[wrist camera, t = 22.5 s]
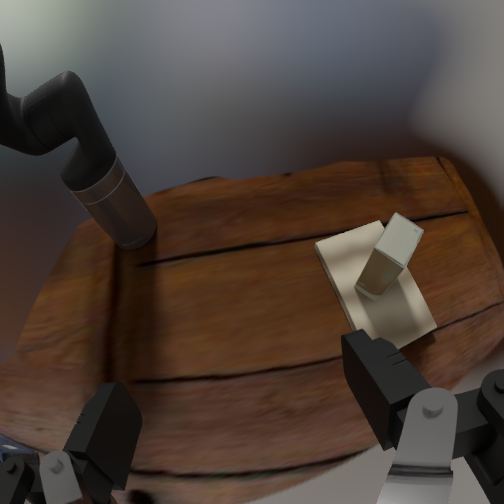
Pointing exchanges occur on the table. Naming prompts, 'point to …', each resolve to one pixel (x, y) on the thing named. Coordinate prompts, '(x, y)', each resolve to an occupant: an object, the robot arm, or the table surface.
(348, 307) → the birch board
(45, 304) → the table surface
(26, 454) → the vhs cassette tape
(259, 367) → the table surface
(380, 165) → the table surface
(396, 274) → the skincare box
